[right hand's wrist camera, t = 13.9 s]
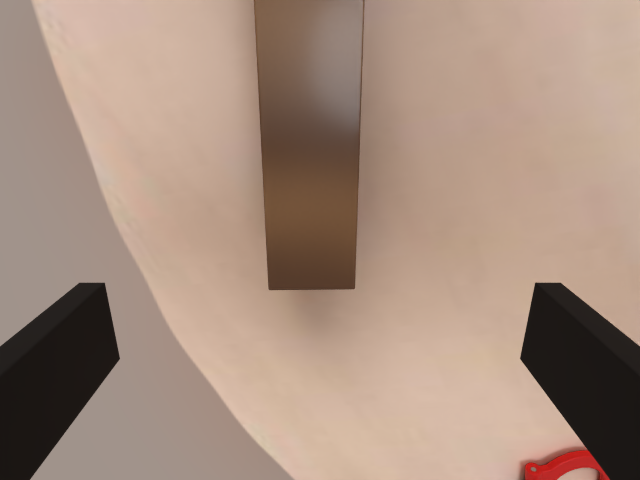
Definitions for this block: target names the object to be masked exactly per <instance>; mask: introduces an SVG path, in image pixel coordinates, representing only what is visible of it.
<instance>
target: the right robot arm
mask: <svg viewBox="0 0 640 480" xmlns="http://www.w3.org/2000/svg"><path fill="white" fill-rule="evenodd" d="M119 359H120V357H119V352H118V347H117V342H116V337H115V332H114V327H113V322H112V317H111V312H110V307H109V302H108V297H107V292H106V287H105V283H79V284H77V285H76V286H75V287H74V288H72V289H71V290H70V291H69V292H67V293H66V294H65V295H64V296H63V297H61V298H60V299H59V300H58V301H56V302H55V303H54V304H53V305H51V306H50V307H49V308H48V309H46V310H45V311H44V312H43V313H41V314H40V315H39V316H38V317H36V318H35V319H34V320H33V321H31V322H30V323H29V324H28V325H26V326H25V327H24V328H23V329H21V330H20V331H19V332H18V333H16V334H15V335H14V336H13V337H11V338H10V339H9V340H8V341H6V342H5V343H4V344H3V345H1V346H0V480H30V479H31V477H32V476H33V475H34V473H35V472H36V471H37V469H38V468H39V467H40V465H41V464H42V463H43V461H44V460H45V459H46V457H47V456H48V455H49V453H50V452H51V451H52V449H53V448H54V447H55V445H56V444H57V443H58V441H59V440H60V438H61V437H62V436H63V435H64V433H65V432H66V430H67V429H68V428H69V426H70V425H71V424H72V422H73V421H74V420H75V418H76V417H77V416H78V414H79V413H80V412H81V410H82V409H83V408H84V406H85V405H86V403H87V402H88V401H89V400H90V398H91V397H92V396H93V394H94V393H95V391H96V390H97V389H98V387H99V386H100V385H101V383H102V382H103V381H104V379H105V378H106V377H107V375H108V374H109V373H110V371H111V370H112V369H113V367H114V366H115V365H116V363H117V362H118V361H119ZM520 359H521V361H522V362H523V363H524V365H525V366H526V367H527V369H528V370H529V371H530V373H531V374H532V375H533V377H534V378H535V379H536V381H537V382H538V383H539V385H540V386H541V387H542V389H543V390H544V391H545V393H546V394H547V396H548V397H549V398H550V400H551V401H552V402H553V404H554V405H555V406H556V408H557V409H558V410H559V412H560V413H561V414H562V416H563V417H564V418H565V420H566V421H567V422H568V424H569V425H570V426H571V428H572V429H573V430H574V432H575V433H576V435H577V436H578V437H579V439H580V440H581V441H582V443H583V444H584V445H585V447H586V448H587V449H588V451H589V452H590V453H591V455H592V456H593V457H594V459H595V460H596V461H597V463H598V464H599V465H600V467H601V468H602V469H603V471H604V472H605V473H606V475H607V476H608V478H609V479H610V480H640V346H639V345H637V344H636V343H635V342H634V341H632V340H631V339H630V338H629V337H627V336H626V335H625V334H624V333H622V332H621V331H620V330H619V329H617V328H616V327H615V326H614V325H612V324H611V323H610V322H609V321H607V320H606V319H605V318H604V317H602V316H601V315H600V314H599V313H597V312H596V311H595V310H594V309H592V308H591V307H590V306H589V305H587V304H586V303H585V302H584V301H582V300H581V299H580V298H579V297H577V296H576V295H575V294H574V293H573V292H571V291H570V290H569V289H568V288H566V287H565V286H564V285H563V284H561V283H535V287H534V292H533V297H532V302H531V307H530V312H529V317H528V322H527V327H526V332H525V337H524V342H523V347H522V352H521V357H520Z"/></svg>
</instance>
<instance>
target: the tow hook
mask: <svg viewBox="0 0 640 480" xmlns="http://www.w3.org/2000/svg"><path fill="white" fill-rule="evenodd" d="M578 468H593V469H596V470H598V471H599V473H600V480H610V479H609V478H608V476H607V475H606V473H605V472H604V471H603V469H602V468H601V467H600V465H599V464H598V463H597V461H596V460H595V459H594V457H593V456H592V455H591V453H590V452H589V451H588V450H586V451H575V452H570V453H567V454H564V455H562V456H559V457H557V458H555V459H554V460H552V461H551V462H549V463H548V464H546V465H541V466H538V465H537V464H535V463H528V464H527V465H526V467H525V480H557V479H558V478H559V477H560V476H562V475H563V474H565V473H567V472H569V471H571V470H574V469H578Z"/></svg>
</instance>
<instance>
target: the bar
mask: <svg viewBox="0 0 640 480" xmlns="http://www.w3.org/2000/svg"><path fill="white" fill-rule="evenodd" d="M254 10H255V30H256V50H257V70H258V89H259V109H260V129H261V149H262V169H263V188H264V208H265V228H266V248H267V268H268V287H269V290H321V289H355V269H356V239H357V209H358V179H359V149H360V119H361V89H362V59H363V29H364V0H254Z"/></svg>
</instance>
